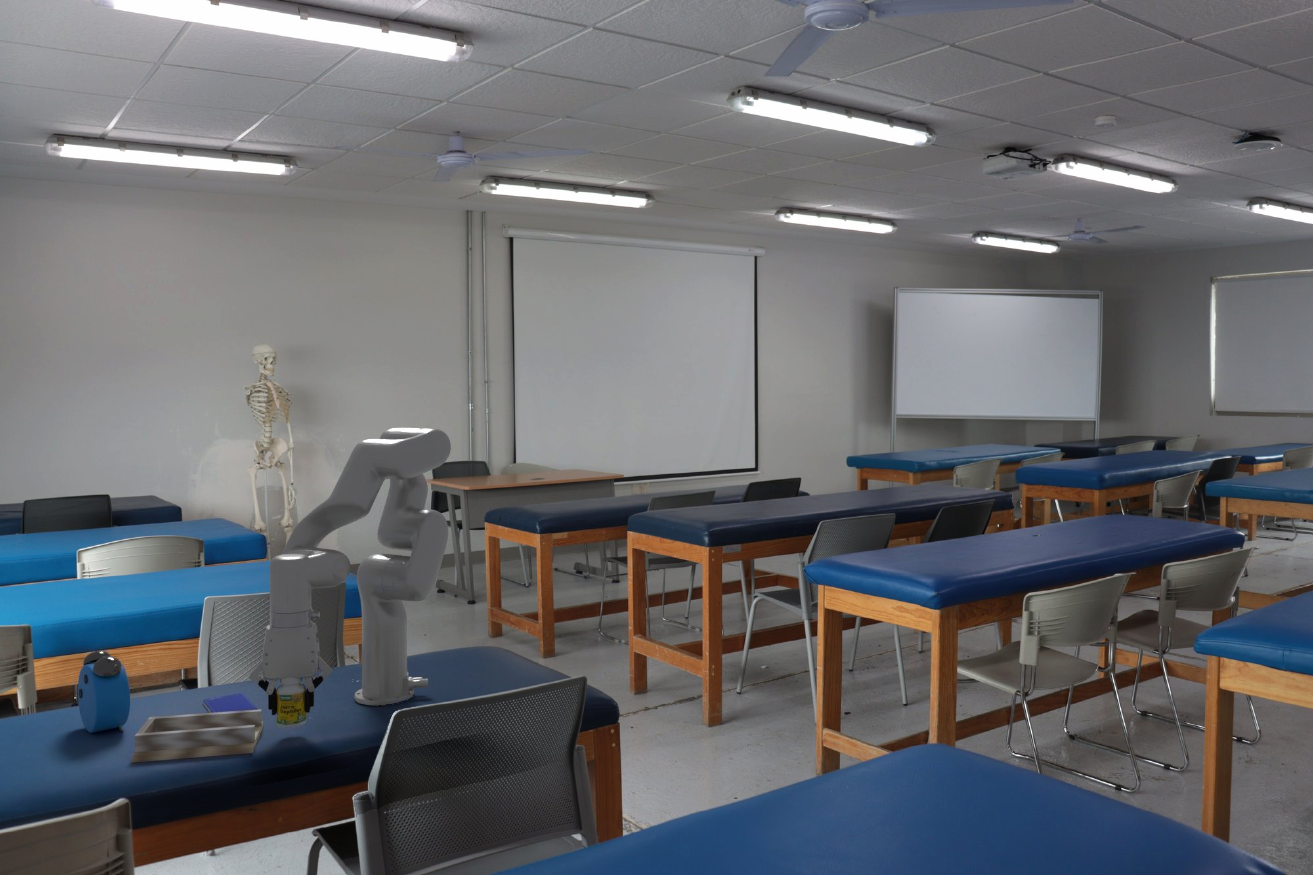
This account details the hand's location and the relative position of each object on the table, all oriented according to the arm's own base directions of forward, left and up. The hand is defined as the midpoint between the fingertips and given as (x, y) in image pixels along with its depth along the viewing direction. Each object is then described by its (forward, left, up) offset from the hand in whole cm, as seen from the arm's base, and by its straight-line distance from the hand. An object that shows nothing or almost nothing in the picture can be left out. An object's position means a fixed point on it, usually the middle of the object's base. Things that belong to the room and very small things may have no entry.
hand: (291, 710), depth 181 cm
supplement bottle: (0, 0, -3) cm, 3 cm away
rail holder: (+16, 0, -5) cm, 17 cm away
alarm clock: (+36, -13, -5) cm, 39 cm away
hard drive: (+14, -21, -6) cm, 26 cm away
